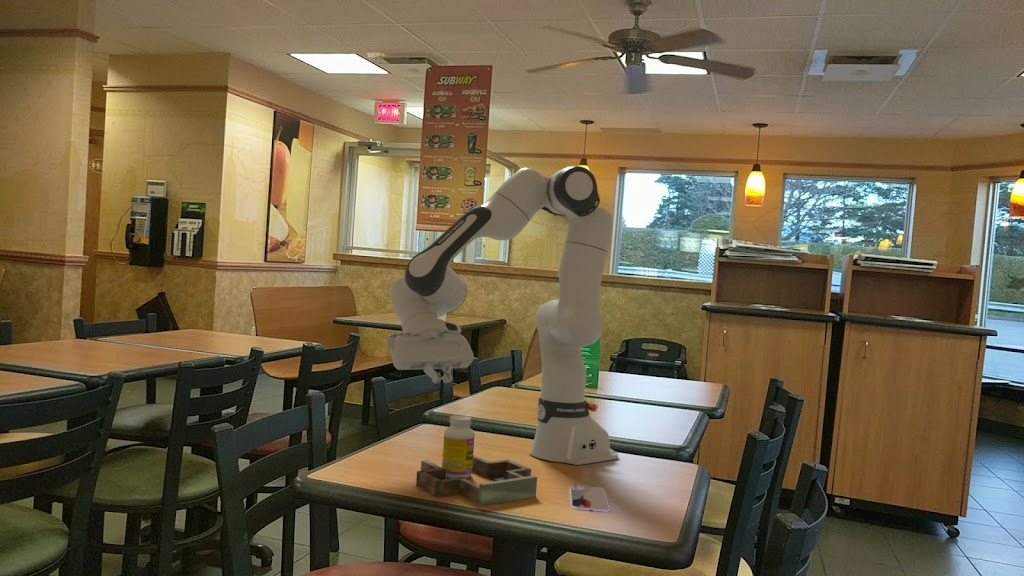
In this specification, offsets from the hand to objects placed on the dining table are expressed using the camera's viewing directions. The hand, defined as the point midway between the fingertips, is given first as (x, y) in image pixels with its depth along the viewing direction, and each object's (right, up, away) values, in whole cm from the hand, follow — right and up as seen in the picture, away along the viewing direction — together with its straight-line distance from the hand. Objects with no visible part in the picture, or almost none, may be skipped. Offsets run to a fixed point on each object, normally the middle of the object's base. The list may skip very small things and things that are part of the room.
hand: (443, 381), depth 163 cm
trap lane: (+8, -20, -12) cm, 25 cm away
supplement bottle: (+3, -20, -6) cm, 21 cm away
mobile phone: (+31, -22, -16) cm, 42 cm away
